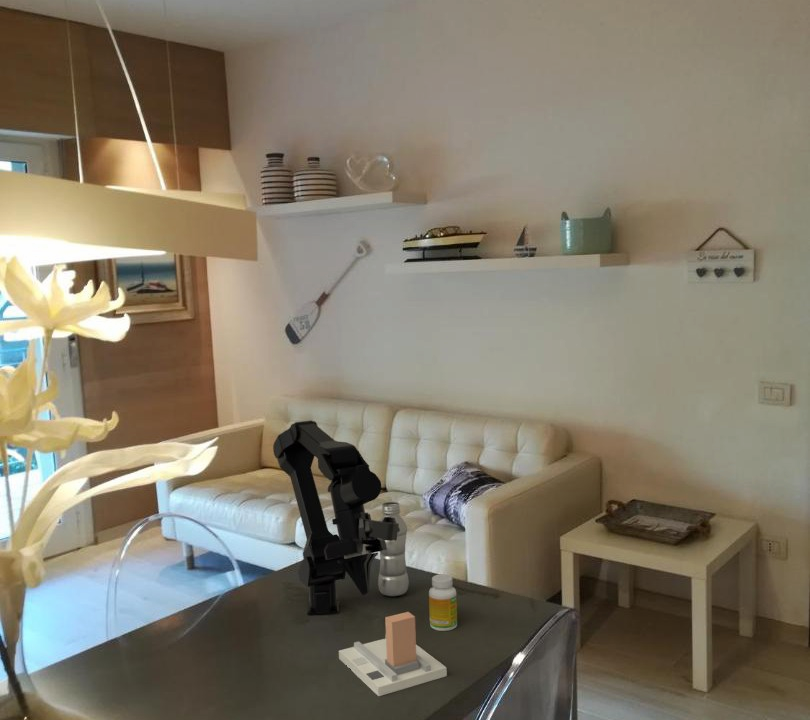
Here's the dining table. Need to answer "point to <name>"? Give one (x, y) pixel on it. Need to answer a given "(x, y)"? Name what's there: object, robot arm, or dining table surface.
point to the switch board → (379, 676)
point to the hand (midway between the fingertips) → (365, 594)
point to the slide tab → (401, 643)
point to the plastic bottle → (393, 556)
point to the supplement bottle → (442, 603)
